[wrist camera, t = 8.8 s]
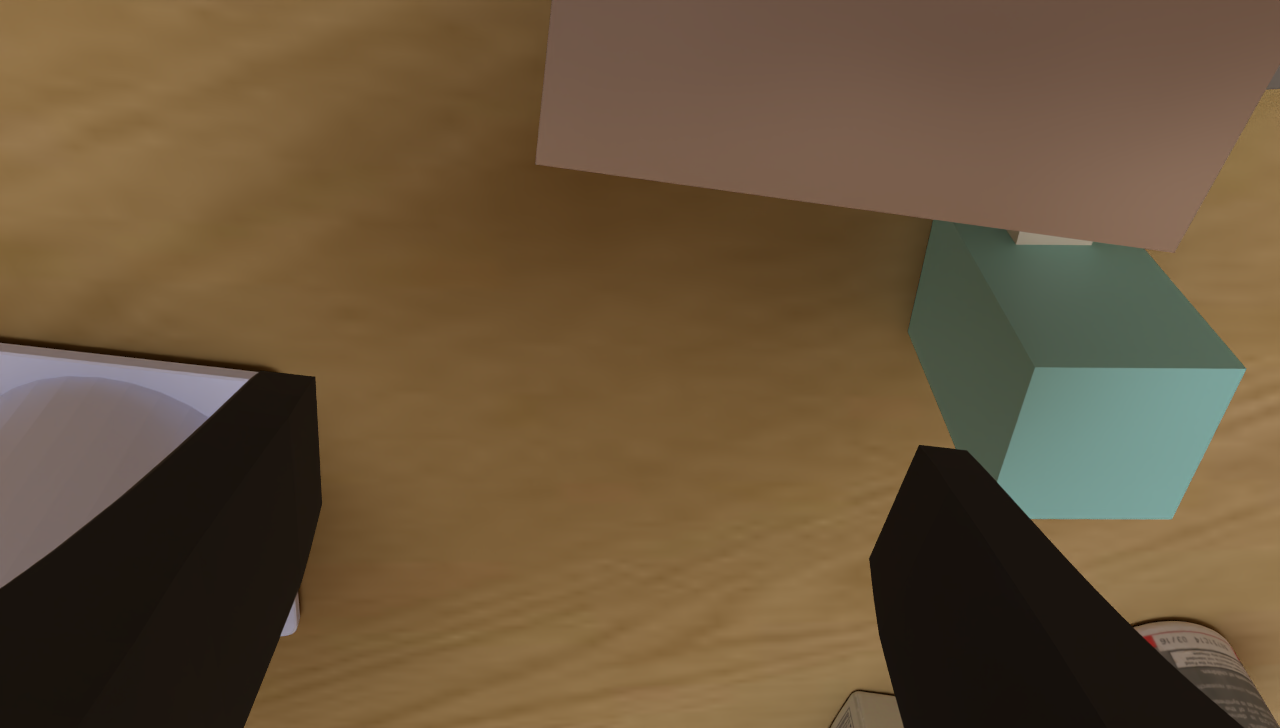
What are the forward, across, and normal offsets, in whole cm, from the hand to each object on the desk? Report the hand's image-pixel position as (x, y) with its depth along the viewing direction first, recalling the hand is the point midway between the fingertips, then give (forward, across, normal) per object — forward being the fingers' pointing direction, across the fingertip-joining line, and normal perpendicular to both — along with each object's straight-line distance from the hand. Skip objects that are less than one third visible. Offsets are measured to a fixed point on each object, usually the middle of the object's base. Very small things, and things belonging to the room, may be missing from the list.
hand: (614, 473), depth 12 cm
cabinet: (+10, -3, -5) cm, 12 cm away
